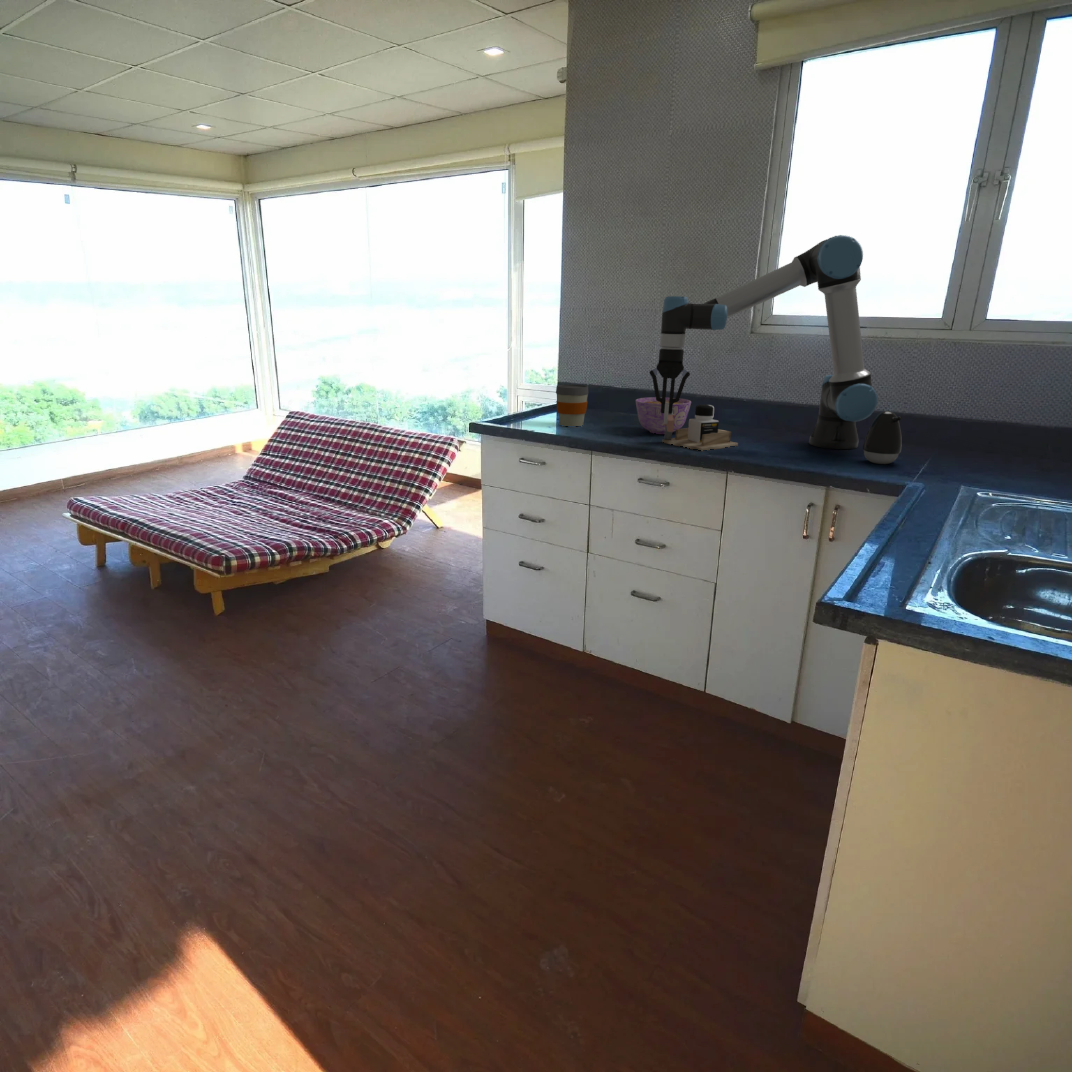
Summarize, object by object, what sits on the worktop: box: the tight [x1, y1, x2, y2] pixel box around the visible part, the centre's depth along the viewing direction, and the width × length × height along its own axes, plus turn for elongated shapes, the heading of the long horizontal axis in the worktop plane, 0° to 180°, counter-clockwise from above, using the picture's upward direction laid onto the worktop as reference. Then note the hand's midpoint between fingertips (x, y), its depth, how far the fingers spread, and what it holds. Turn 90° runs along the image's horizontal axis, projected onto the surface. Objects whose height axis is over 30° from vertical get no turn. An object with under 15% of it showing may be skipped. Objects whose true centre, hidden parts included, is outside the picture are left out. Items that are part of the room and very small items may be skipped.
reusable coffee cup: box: [555, 383, 590, 427], centre depth 265 cm, size 13×12×15 cm
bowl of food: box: [635, 396, 692, 435], centre depth 252 cm, size 20×20×12 cm
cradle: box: [662, 427, 739, 452], centre depth 231 cm, size 18×17×4 cm
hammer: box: [663, 408, 675, 440], centre depth 227 cm, size 15×3×10 cm, turn 172°
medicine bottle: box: [687, 404, 720, 443], centre depth 230 cm, size 7×7×12 cm
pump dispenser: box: [862, 410, 903, 465], centre depth 204 cm, size 10×10×15 cm
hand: (665, 423), depth 223 cm, fingers closed
